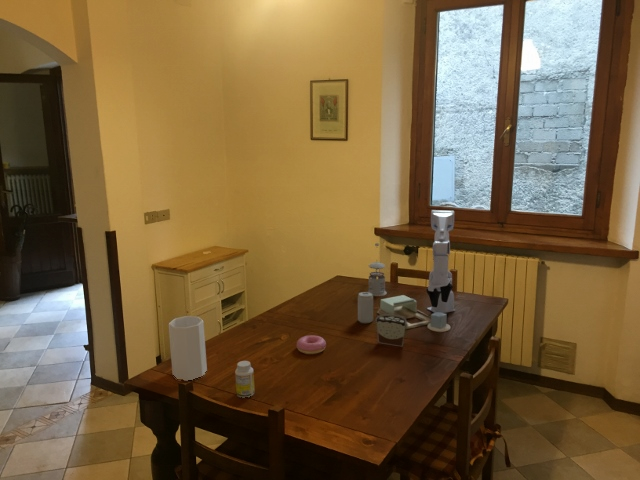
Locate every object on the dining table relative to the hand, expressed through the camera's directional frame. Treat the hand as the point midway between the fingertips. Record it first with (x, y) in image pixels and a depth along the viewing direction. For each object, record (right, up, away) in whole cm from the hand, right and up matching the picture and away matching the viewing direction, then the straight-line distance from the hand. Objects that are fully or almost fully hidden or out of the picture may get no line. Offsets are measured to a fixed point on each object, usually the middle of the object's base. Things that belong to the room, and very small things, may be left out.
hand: (439, 304), depth 207 cm
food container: (-20, -13, -11) cm, 26 cm away
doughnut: (-51, -15, -16) cm, 55 cm away
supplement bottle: (-71, -22, -47) cm, 88 cm away
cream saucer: (0, -10, +2) cm, 10 cm away
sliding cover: (-14, -5, +18) cm, 23 cm away
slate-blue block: (0, -9, +2) cm, 9 cm away
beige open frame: (-11, -7, +13) cm, 19 cm away
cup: (-91, -19, -33) cm, 99 cm away
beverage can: (-29, -9, +10) cm, 32 cm away
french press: (-20, 0, +48) cm, 52 cm away
